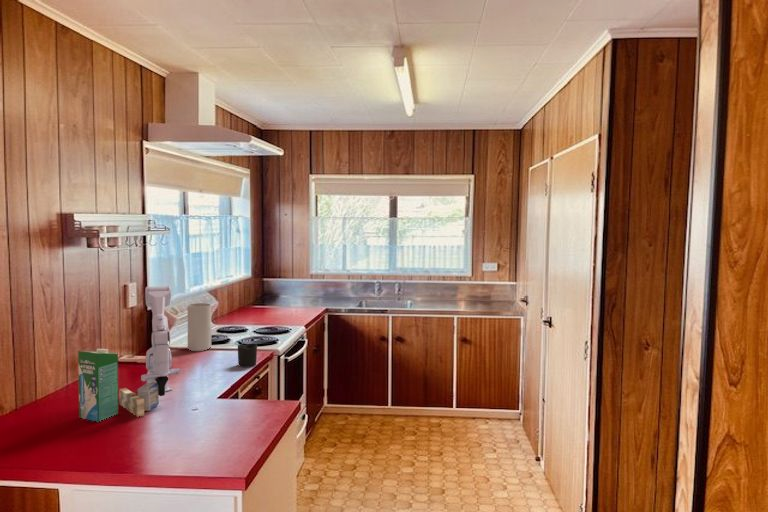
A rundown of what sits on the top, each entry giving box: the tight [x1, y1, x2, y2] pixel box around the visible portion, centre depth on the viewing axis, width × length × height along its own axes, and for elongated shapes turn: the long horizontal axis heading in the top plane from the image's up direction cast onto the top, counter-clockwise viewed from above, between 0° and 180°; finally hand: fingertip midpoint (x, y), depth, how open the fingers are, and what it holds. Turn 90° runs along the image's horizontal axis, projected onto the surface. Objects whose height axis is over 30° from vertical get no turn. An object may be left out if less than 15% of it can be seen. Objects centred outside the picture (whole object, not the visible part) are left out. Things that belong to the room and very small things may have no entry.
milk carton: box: [77, 348, 119, 423], centre depth 189 cm, size 9×9×25 cm
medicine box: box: [137, 382, 160, 412], centre depth 200 cm, size 8×4×9 cm, turn 179°
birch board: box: [118, 387, 145, 418], centre depth 197 cm, size 18×2×6 cm, turn 46°
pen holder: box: [237, 343, 258, 367], centre depth 262 cm, size 9×9×10 cm
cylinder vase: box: [187, 302, 212, 352], centre depth 292 cm, size 12×12×25 cm
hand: (161, 395), depth 204 cm, fingers closed
